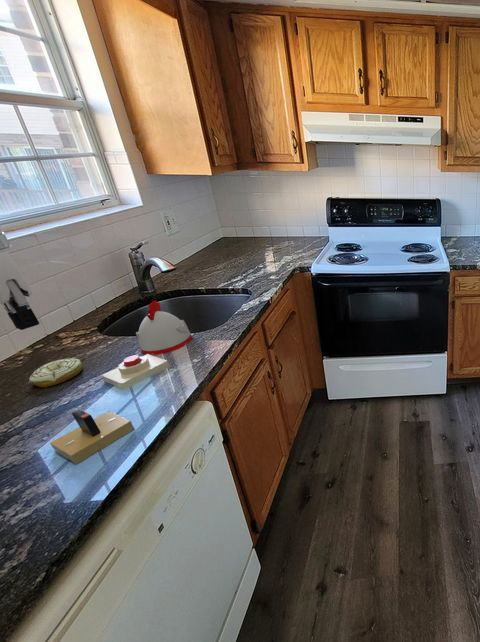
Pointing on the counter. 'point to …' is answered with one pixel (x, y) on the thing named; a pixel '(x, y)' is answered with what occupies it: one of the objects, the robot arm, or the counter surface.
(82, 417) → the lock knob
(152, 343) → the kitchen timer
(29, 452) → the counter surface
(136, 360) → the bell button
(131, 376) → the block
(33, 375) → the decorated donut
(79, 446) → the plate
